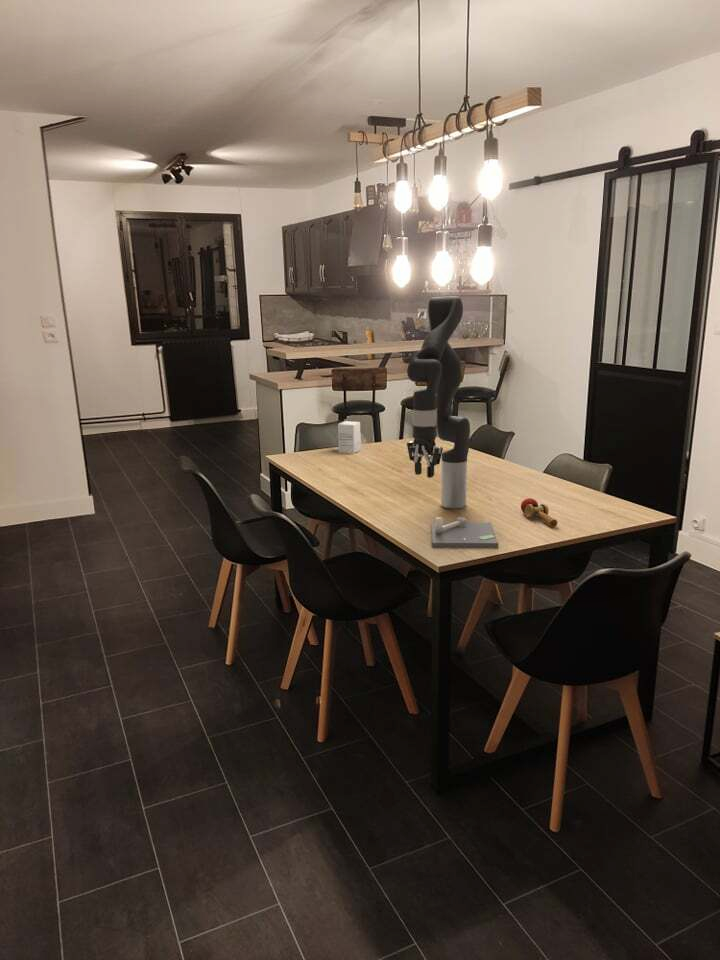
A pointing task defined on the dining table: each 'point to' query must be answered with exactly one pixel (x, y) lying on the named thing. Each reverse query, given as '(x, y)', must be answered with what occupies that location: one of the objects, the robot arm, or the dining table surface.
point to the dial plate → (465, 536)
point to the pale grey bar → (439, 524)
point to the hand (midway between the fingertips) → (424, 475)
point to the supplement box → (349, 436)
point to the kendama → (537, 511)
